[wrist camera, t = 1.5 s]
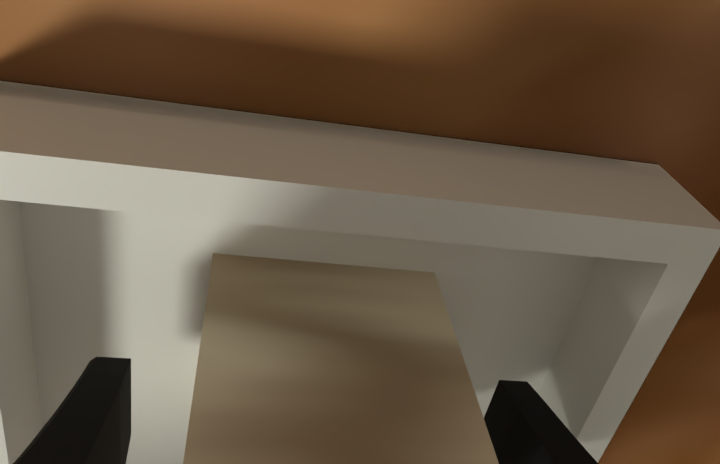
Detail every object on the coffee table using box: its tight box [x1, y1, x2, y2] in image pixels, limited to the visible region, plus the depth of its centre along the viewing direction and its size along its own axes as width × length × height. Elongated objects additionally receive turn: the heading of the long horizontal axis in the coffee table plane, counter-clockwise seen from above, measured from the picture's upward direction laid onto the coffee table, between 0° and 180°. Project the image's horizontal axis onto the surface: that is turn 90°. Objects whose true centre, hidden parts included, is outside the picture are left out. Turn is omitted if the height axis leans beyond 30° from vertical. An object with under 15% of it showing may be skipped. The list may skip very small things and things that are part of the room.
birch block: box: [183, 253, 499, 464], centre depth 12 cm, size 4×4×5 cm
